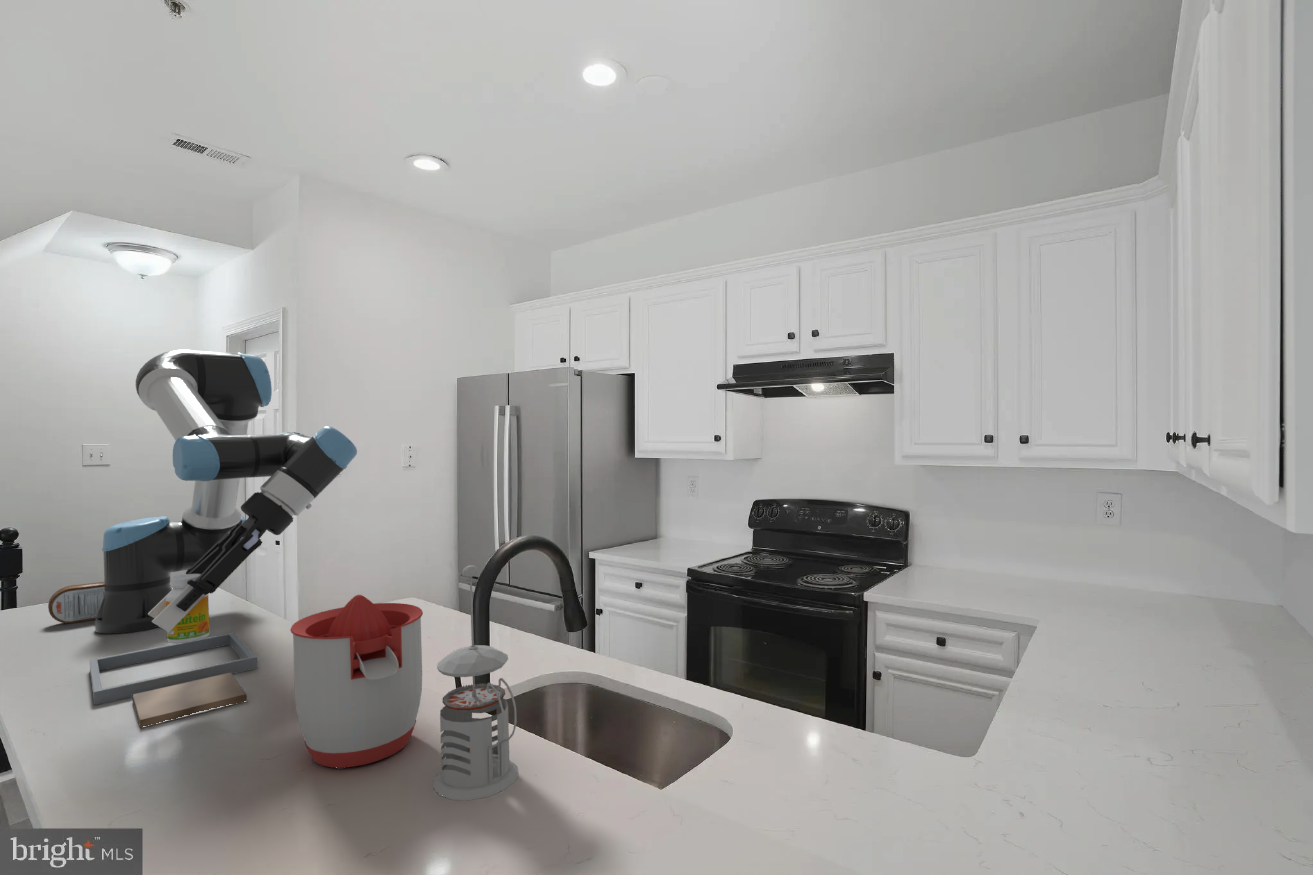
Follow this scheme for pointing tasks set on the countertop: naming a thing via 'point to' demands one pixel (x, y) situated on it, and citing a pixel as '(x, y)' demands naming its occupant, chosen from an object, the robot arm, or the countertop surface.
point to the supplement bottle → (188, 614)
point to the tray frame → (128, 689)
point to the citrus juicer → (358, 680)
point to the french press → (474, 724)
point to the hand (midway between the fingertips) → (158, 622)
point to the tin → (77, 602)
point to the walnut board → (187, 698)
